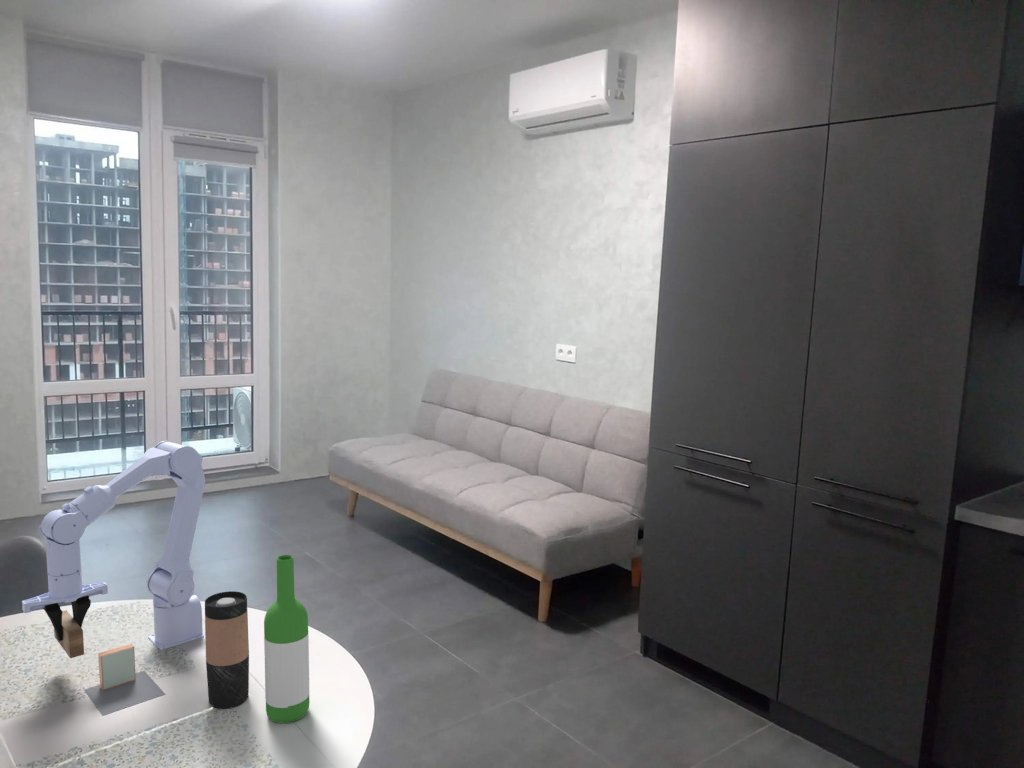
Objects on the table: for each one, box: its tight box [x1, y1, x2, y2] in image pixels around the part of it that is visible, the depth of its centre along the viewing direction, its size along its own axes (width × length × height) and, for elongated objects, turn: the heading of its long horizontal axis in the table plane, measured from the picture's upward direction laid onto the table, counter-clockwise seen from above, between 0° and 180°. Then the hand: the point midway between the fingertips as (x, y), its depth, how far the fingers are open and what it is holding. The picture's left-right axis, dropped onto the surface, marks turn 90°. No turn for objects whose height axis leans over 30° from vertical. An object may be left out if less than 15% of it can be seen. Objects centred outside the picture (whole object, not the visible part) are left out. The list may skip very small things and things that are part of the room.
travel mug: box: [204, 590, 250, 710], centre depth 143 cm, size 8×8×20 cm
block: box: [97, 643, 136, 691], centre depth 147 cm, size 6×2×7 cm, turn 134°
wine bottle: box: [263, 554, 310, 724], centre depth 138 cm, size 8×8×30 cm
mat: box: [83, 670, 166, 717], centre depth 145 cm, size 11×12×1 cm
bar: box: [53, 609, 85, 659], centre depth 150 cm, size 12×2×5 cm, turn 44°
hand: (68, 636), depth 150 cm, fingers closed on bar, 2 cm apart
